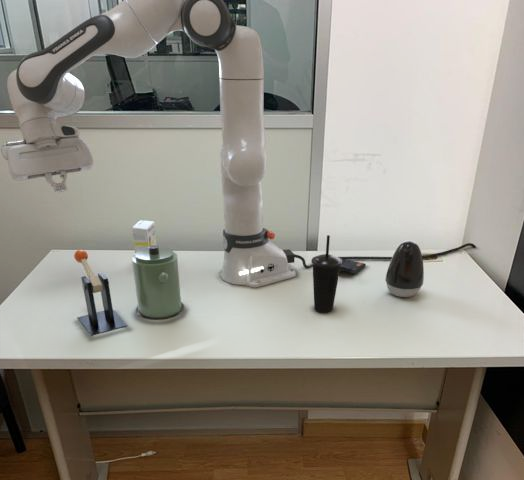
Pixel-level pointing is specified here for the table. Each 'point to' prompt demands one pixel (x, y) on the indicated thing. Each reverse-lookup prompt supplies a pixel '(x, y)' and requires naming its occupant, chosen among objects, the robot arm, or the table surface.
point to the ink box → (144, 234)
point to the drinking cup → (325, 280)
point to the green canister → (157, 283)
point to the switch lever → (88, 270)
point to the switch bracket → (103, 319)
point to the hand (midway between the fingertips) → (61, 191)
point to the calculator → (351, 266)
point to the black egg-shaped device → (405, 270)
